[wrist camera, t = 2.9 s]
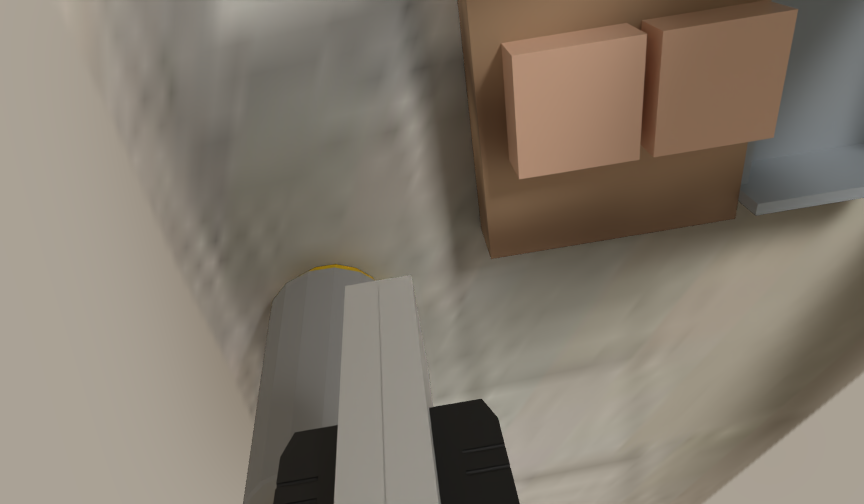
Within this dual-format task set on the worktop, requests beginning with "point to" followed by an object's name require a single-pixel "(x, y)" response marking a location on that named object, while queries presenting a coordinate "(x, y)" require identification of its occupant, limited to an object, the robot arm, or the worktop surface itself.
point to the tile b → (714, 76)
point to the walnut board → (592, 187)
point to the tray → (814, 115)
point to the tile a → (574, 99)
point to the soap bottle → (298, 369)
